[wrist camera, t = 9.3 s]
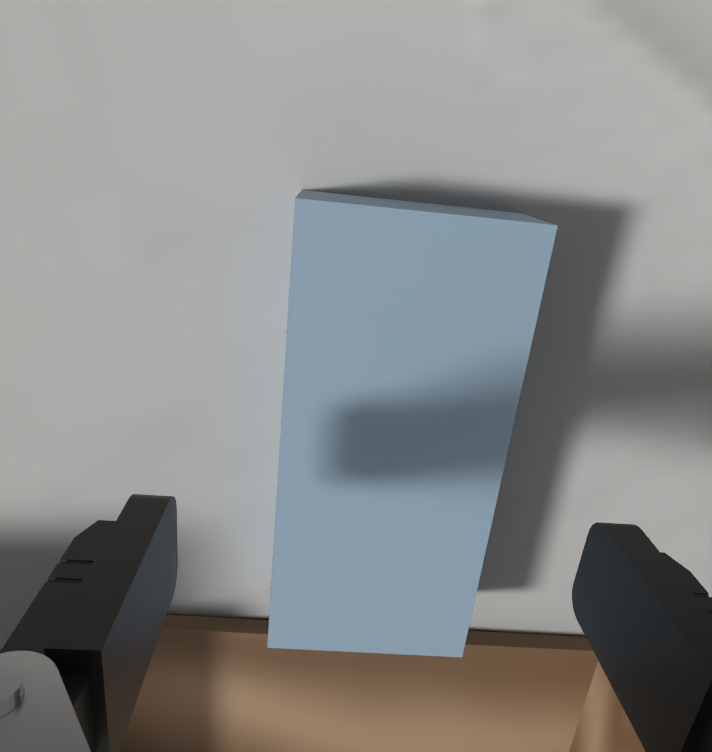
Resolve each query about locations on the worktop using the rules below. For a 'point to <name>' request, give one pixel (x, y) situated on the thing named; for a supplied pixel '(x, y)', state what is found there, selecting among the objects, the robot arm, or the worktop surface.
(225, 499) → the worktop surface
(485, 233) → the light blue block
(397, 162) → the worktop surface
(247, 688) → the walnut box
